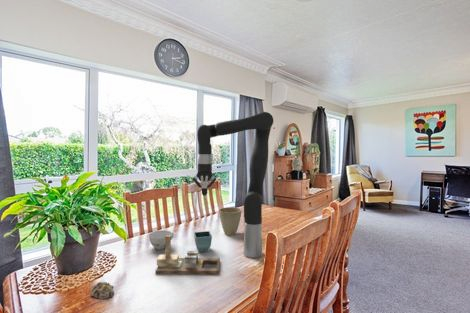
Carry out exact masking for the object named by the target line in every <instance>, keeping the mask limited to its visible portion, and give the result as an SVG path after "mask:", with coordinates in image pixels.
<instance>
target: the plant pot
mask: <svg viewBox="0 0 470 313" xmlns="http://www.w3.org/2000/svg"><path fill="white" fill-rule="evenodd" d="M242 211H243V209H241V208H240V207H233V206H232V207H231V206H229V207H228V206H227V207H222V208H219V209H218V213H219V219H220V223H221V228H222V230H223V233H224V235H225V236H230V237H231V236H235V235H236V234H237V232H238V230H239V226H240V223H241V217H242Z"/></svg>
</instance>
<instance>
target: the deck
mask: <svg viewBox="0 0 470 313" xmlns="http://www.w3.org/2000/svg"><path fill="white" fill-rule="evenodd" d="M184 256H185V257H179V262H178V264H177V266H157V267H156V269H155V273H154V274H155V275H220V274H219V273H220V263H221V259H220V257H217V258H215V257H199V252H198V250H187V252H186V255H184Z"/></svg>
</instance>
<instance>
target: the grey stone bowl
mask: <svg viewBox="0 0 470 313" xmlns="http://www.w3.org/2000/svg"><path fill="white" fill-rule="evenodd" d="M166 235H171V241H172V240H173V239H174V232H172V231H170V230H164V229H163V230H162V229H161V230H160V229H159V230H155V231H152V232H150V233H149V234H148V237H149V238H148V239H149V242H150V244H151V245H152V247H153V248H154V249H156V250H158V251H159V250H160V251H161V250H165V236H166Z"/></svg>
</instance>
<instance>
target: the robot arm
mask: <svg viewBox="0 0 470 313" xmlns="http://www.w3.org/2000/svg"><path fill="white" fill-rule="evenodd" d="M273 124H274V117H273V115H272V114H271V113H269V112H267V111H262V112H260V113H257V114H254V115H251V116H247V117H244V118H239V119H232V120H225V121H220V122H217V123H215V124H209V125H207V124H201V125H199V126H198V128H197V131H196V132H197V133H196V136H197V145H198V146H197V147H198V150H197V173H196V176H194V177H192V181H193V182H194V183H195V184H196V186H197V187H198V188H200V189H201V195H202V196H207V195H208V189H209V188H211V186H212V185H213V184H214V183H215V182H216V181H217V177H215V176H214V174H213V173H212V172H213V170H212V169H213V157H212V156H213V155H212V144H211V138H216V137H220V136H221V137H222V136H227V135H232V134H237V133H240V132H244V131H249V130H255V131H254V133H255V134H254V135H255V137H254V140H253V143H252V144H253V145H252V148H251V153H250V158H249V169H248V170H249V185H248V191H247V193H246V196H245V197H244V199H243V221H244V223H243V228H244V229H243V255H244V256H245V257H246V258H251V259H256V258H261V257H262V256H263V236H262V235H263V234H262V232H263V231H262V230H263V229H262V226H263V224H262V222H263V218H262V217H263V216H262V209H263V208H262V207H263V199H264V198H263V197H264V196H263V195H264V194H263V191H264V181H265V177H266V174H267V173H266V172H267V168H268V164H269V163H268V161H269V138H270V134H271V130H272V126H273ZM198 180H199V181H200V182H199V181H198ZM210 180H211V182H210ZM209 182H210V183H209Z"/></svg>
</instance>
